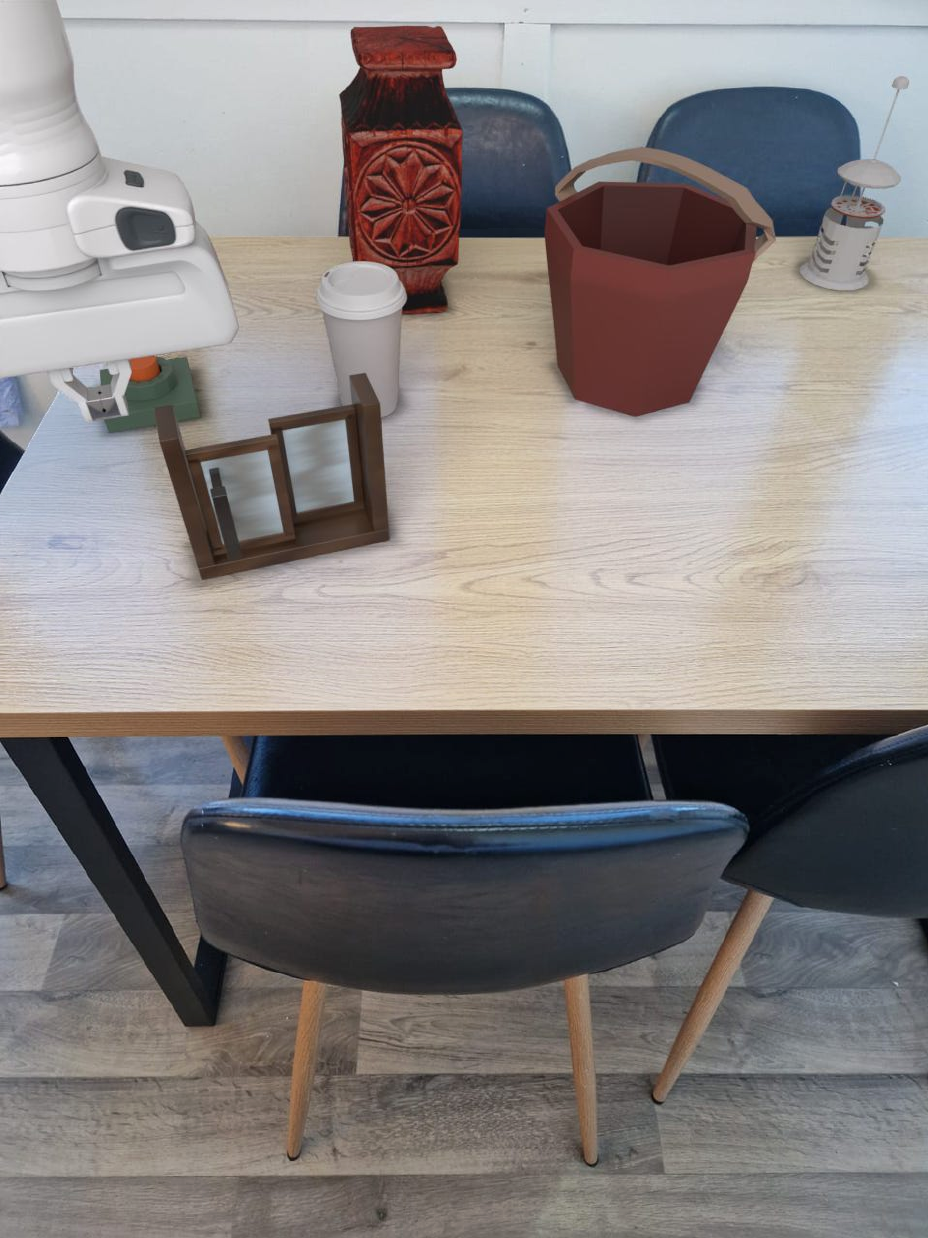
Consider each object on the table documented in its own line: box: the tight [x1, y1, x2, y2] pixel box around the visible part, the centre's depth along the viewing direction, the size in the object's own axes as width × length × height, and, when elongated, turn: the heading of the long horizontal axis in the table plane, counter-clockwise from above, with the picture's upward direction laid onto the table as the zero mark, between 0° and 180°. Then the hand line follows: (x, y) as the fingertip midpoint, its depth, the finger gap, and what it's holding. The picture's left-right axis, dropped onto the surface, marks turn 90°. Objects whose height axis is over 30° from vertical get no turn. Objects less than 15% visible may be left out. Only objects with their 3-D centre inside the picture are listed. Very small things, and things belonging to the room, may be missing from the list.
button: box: [129, 355, 160, 382], centre depth 93 cm, size 4×4×2 cm
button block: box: [99, 356, 202, 434], centre depth 95 cm, size 10×10×4 cm
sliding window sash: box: [185, 434, 296, 560], centre depth 72 cm, size 8×5×11 cm
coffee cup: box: [315, 261, 407, 419], centre depth 91 cm, size 10×10×15 cm
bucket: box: [544, 146, 777, 418], centre depth 92 cm, size 24×22×25 cm
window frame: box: [154, 373, 390, 581], centre depth 75 cm, size 18×5×16 cm, turn 109°
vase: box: [338, 25, 464, 316], centre depth 104 cm, size 14×14×30 cm
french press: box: [799, 75, 910, 291], centre depth 113 cm, size 10×12×25 cm
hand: (107, 414), depth 59 cm, fingers closed
